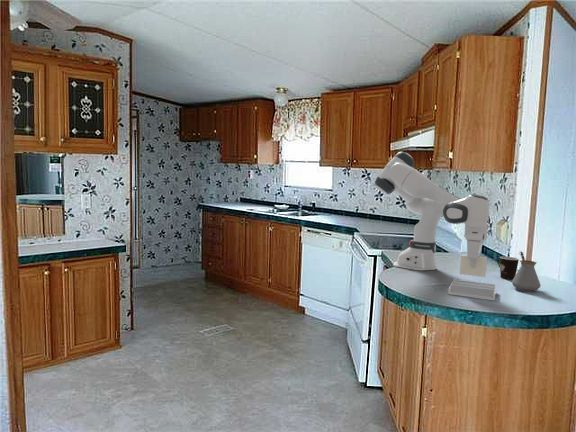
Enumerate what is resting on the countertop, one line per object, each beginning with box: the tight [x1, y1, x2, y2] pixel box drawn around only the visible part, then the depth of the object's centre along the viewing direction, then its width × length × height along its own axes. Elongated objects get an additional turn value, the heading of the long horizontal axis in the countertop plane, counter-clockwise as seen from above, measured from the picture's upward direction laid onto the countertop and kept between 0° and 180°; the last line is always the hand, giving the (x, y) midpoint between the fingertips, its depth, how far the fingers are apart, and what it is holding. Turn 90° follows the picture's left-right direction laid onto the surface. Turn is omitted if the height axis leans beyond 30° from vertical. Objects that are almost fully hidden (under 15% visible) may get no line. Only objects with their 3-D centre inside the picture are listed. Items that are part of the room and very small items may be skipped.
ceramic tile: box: [459, 254, 488, 278], centre depth 197 cm, size 10×2×8 cm, turn 64°
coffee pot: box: [511, 250, 542, 293], centre depth 214 cm, size 21×12×15 cm, turn 164°
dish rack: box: [447, 278, 497, 301], centre depth 200 cm, size 18×13×4 cm
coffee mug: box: [496, 256, 520, 281], centre depth 233 cm, size 12×9×10 cm
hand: (473, 266), depth 197 cm, fingers closed on ceramic tile, 2 cm apart
